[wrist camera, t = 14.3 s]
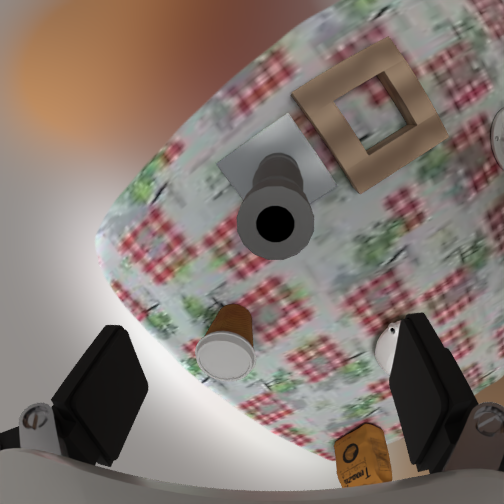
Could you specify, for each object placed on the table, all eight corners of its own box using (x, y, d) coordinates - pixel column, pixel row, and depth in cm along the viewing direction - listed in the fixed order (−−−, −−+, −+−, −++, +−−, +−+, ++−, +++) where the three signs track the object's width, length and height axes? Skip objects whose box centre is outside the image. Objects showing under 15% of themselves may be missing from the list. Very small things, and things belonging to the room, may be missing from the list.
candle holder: (295, 196, 47) (307, 269, 24) (254, 189, 47) (227, 255, 24) (303, 156, 45) (326, 191, 22) (261, 148, 45) (239, 175, 22)
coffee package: (328, 439, 70) (332, 511, 50) (367, 417, 66) (381, 493, 46) (350, 450, 72) (357, 517, 52) (387, 430, 68) (402, 499, 48)
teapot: (350, 321, 56) (360, 357, 47) (407, 284, 52) (427, 315, 43) (393, 378, 61) (404, 412, 51) (441, 348, 57) (458, 379, 48)
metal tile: (336, 184, 47) (337, 185, 46) (266, 230, 51) (266, 231, 50) (287, 113, 43) (287, 113, 43) (217, 163, 47) (216, 163, 46)
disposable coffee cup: (238, 286, 55) (227, 327, 44) (271, 324, 57) (267, 369, 46) (198, 312, 58) (181, 353, 47) (231, 346, 60) (221, 390, 49)
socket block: (437, 135, 42) (449, 136, 38) (354, 188, 47) (360, 194, 43) (380, 42, 37) (388, 36, 34) (290, 95, 42) (291, 92, 39)
